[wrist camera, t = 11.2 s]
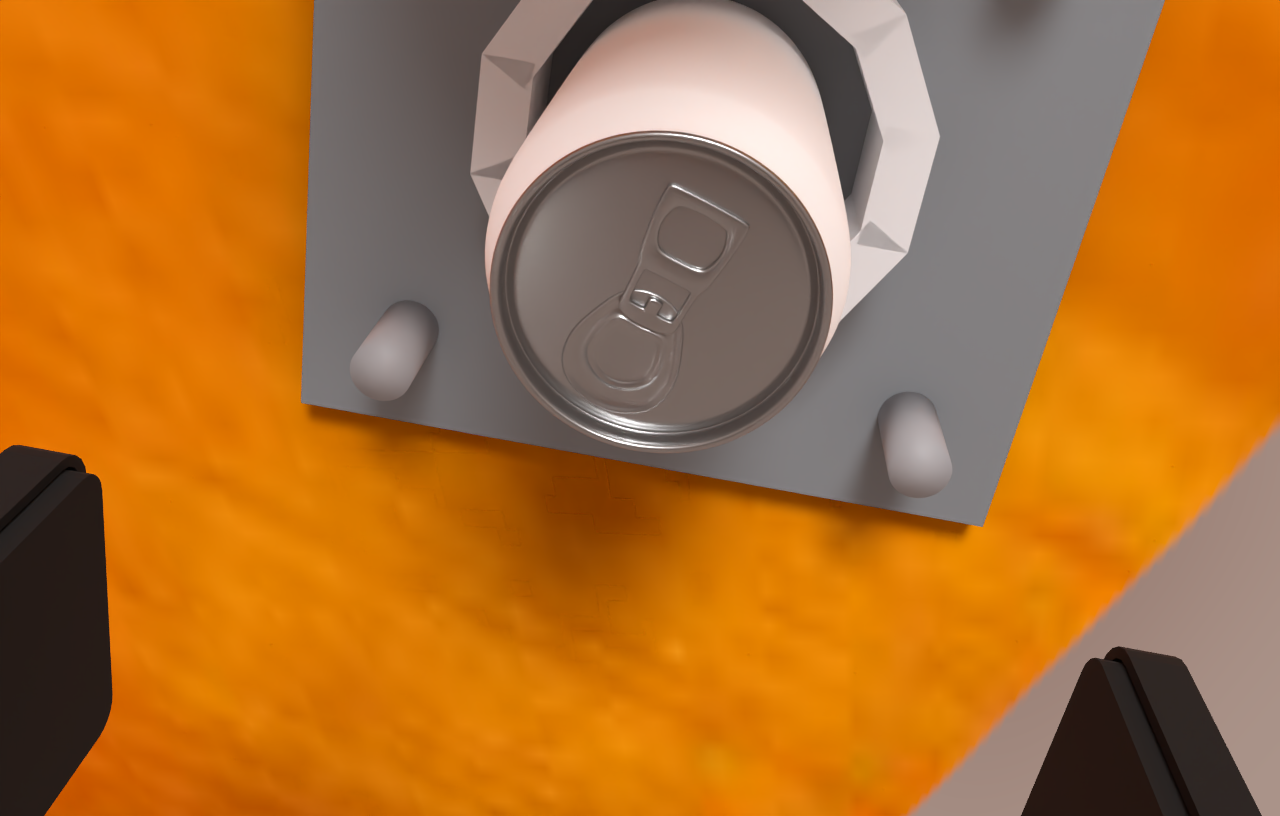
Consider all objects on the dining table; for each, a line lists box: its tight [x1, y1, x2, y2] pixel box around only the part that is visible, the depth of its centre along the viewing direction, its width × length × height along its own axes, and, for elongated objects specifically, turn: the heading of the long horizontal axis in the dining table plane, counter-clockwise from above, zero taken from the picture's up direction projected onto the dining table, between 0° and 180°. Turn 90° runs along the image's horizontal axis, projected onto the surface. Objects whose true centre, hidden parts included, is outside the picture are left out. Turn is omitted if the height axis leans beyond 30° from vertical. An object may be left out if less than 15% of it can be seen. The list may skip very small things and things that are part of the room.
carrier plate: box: [301, 0, 1165, 527], centre depth 29 cm, size 20×20×4 cm
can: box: [485, 0, 851, 453], centre depth 25 cm, size 6×6×12 cm
